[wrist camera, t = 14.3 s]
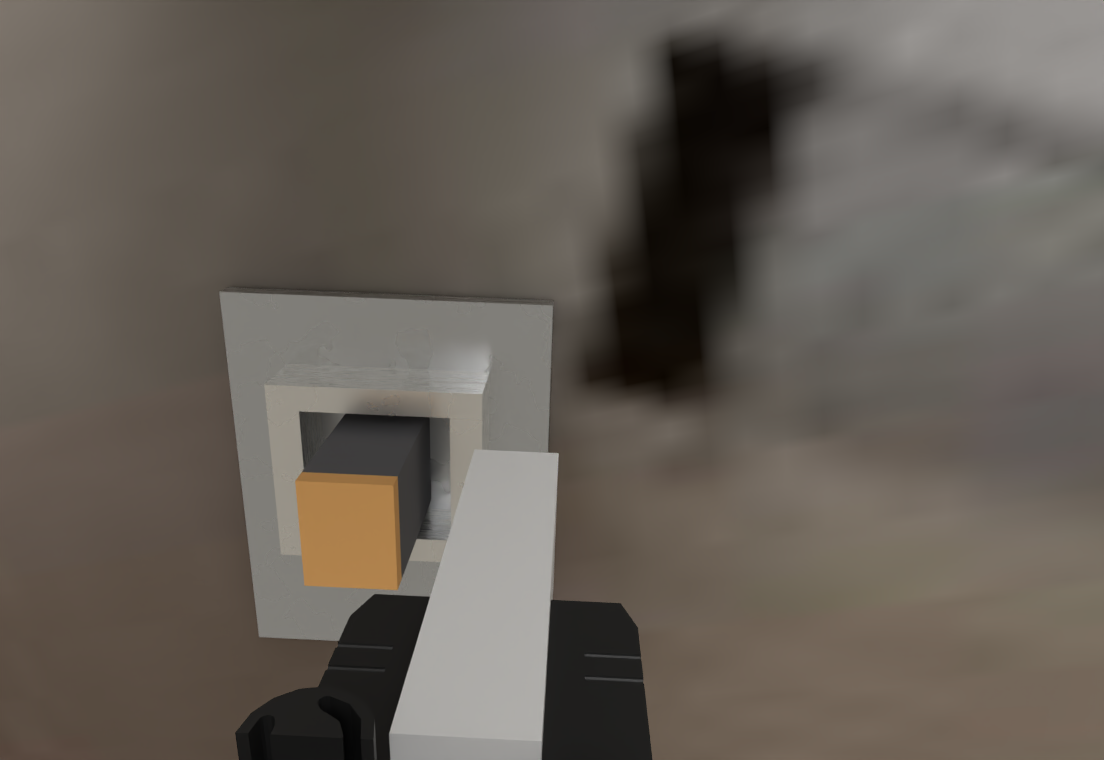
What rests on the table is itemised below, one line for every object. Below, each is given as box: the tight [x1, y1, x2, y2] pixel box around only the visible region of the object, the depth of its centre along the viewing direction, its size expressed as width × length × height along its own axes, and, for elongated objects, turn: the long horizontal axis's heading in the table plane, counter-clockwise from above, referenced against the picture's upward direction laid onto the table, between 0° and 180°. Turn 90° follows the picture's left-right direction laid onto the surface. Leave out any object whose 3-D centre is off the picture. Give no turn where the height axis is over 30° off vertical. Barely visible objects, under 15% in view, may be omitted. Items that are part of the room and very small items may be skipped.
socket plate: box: [219, 287, 554, 641], centre depth 39 cm, size 20×16×4 cm
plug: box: [295, 414, 431, 590], centre depth 36 cm, size 5×4×8 cm
